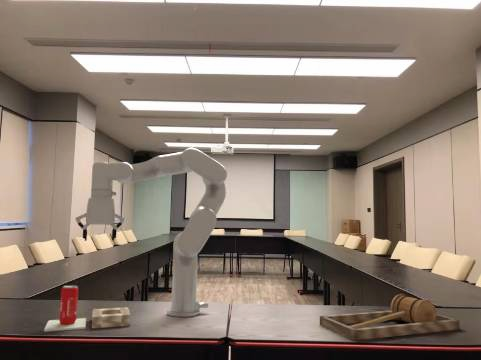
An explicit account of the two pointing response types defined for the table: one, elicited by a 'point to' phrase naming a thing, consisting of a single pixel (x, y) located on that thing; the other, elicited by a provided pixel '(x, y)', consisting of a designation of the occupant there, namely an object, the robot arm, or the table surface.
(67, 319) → the beverage can
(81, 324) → the coaster board
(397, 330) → the gavel rest frame
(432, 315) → the mallet
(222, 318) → the table surface
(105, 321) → the can holder
